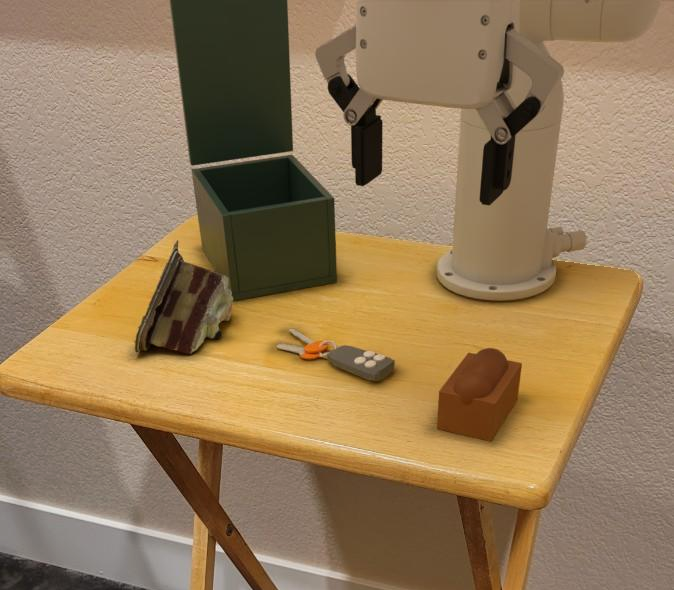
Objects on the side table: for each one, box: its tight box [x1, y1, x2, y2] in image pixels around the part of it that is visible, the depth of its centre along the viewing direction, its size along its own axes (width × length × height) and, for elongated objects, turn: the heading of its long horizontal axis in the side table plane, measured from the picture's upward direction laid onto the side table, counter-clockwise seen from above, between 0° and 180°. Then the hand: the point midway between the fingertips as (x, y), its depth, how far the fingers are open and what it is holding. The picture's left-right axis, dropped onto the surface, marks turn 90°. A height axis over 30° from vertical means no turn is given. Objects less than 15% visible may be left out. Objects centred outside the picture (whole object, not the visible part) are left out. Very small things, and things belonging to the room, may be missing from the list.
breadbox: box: [191, 154, 338, 302], centre depth 95 cm, size 15×12×9 cm
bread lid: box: [169, 0, 294, 167], centre depth 93 cm, size 16×12×6 cm
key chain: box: [276, 328, 396, 382], centre depth 82 cm, size 13×4×2 cm, turn 52°
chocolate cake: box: [134, 239, 234, 355], centre depth 87 cm, size 10×7×12 cm
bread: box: [436, 347, 523, 442], centre depth 73 cm, size 5×7×5 cm, turn 154°
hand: (428, 189), depth 64 cm, fingers open, 9 cm apart
